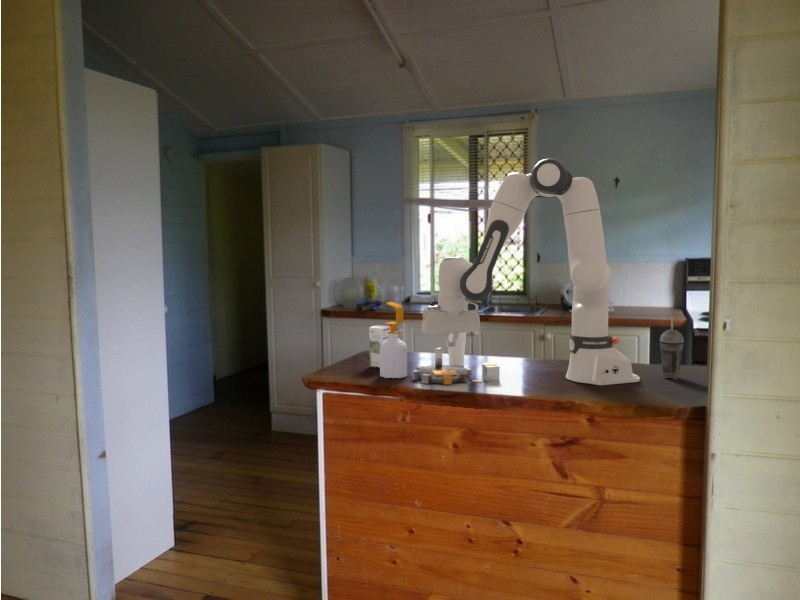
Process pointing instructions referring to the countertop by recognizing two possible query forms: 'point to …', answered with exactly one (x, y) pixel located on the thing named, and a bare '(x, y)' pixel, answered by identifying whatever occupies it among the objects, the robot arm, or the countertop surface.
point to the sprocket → (441, 372)
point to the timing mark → (476, 381)
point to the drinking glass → (457, 350)
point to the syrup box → (377, 343)
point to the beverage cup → (671, 352)
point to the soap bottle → (393, 349)
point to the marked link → (490, 372)
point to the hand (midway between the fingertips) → (450, 346)
